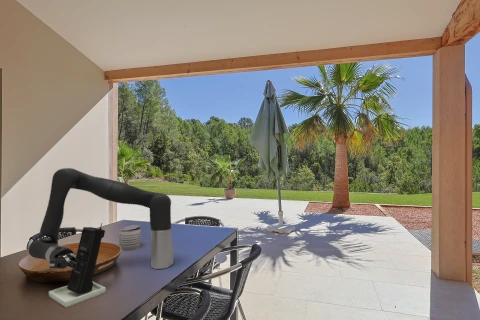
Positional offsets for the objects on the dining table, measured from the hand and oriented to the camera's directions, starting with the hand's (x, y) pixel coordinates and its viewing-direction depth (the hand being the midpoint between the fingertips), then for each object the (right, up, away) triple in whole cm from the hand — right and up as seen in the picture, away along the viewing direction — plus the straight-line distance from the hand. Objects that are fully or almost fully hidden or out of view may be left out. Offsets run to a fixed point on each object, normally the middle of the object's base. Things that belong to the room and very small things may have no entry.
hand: (79, 265), depth 109 cm
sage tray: (-1, -11, +1) cm, 11 cm away
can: (-3, -11, +58) cm, 59 cm away
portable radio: (-1, -10, +1) cm, 10 cm away
